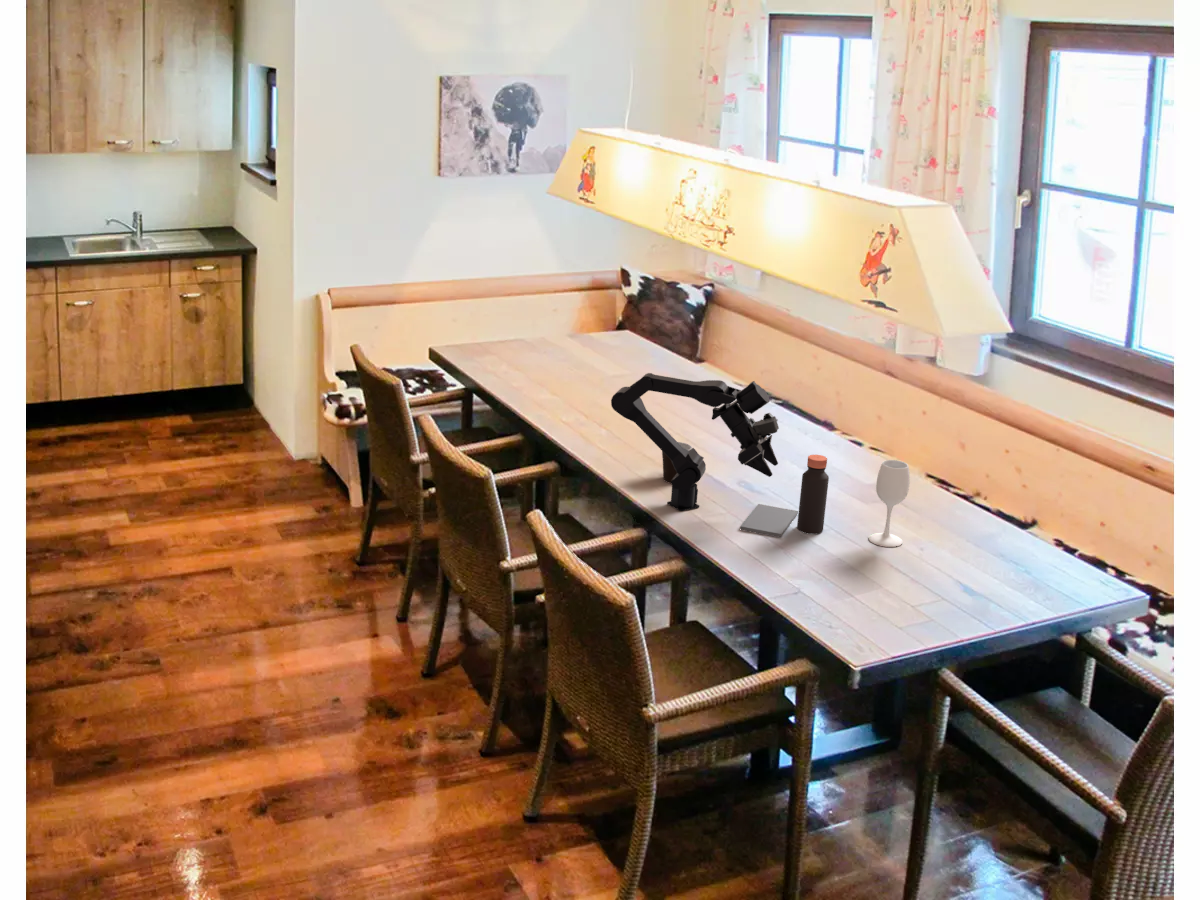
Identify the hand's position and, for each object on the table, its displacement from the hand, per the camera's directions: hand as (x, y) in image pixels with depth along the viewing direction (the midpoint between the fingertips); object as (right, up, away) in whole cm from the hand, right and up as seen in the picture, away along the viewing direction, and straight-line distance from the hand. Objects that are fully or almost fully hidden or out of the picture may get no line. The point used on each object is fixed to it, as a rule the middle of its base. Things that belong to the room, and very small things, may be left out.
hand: (773, 470), depth 341 cm
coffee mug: (-23, -3, +31) cm, 39 cm away
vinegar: (+9, -16, -1) cm, 18 cm away
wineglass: (+28, -18, -6) cm, 34 cm away
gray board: (-1, -14, +2) cm, 14 cm away
